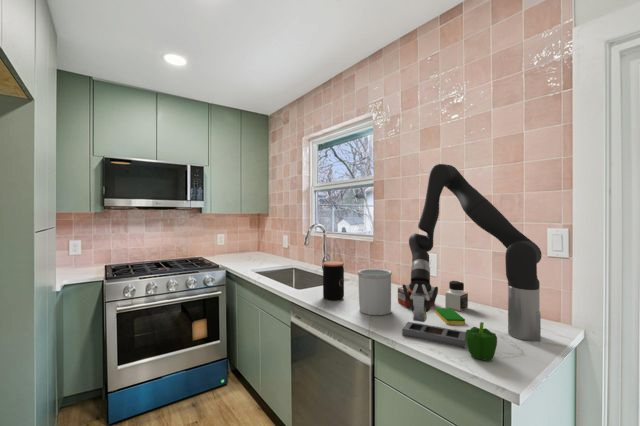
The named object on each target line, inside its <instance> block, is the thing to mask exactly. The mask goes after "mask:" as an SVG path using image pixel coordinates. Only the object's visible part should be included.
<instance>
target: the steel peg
mask: <svg viewBox="0 0 640 426" xmlns="http://www.w3.org/2000/svg"><path fill="white" fill-rule="evenodd" d="M413 310H414V311H412V312H413V313H412V314H413V316H412V317H413V321H415V322H421V323H425V322H426V321H427V318H428V317H427V312H426V293H420V292H415V293H414V294H413Z"/></svg>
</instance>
